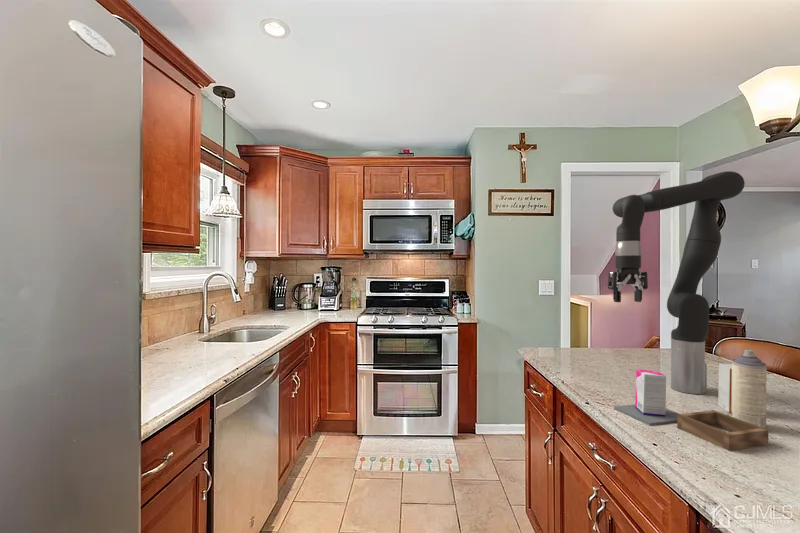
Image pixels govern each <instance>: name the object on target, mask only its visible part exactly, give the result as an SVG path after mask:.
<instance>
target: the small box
mask: <svg viewBox="0 0 800 533" xmlns="http://www.w3.org/2000/svg"><path fill="white" fill-rule="evenodd" d="M717 396H718V397H717V398H718V403H717V404H718V407H721V408H722V409H723V410H724V411H726V412H728V413H730V414H731V409H732V363H718V395H717Z"/></svg>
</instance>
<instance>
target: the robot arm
mask: <svg viewBox="0 0 800 533" xmlns="http://www.w3.org/2000/svg"><path fill="white" fill-rule="evenodd" d="M744 187H745V178H744V177H743V176H742V174H741V173H739V172H736V171H733V170H732V171H729V170H728V171H721V172H717V173H714V174H710V175H708V176H706V177H704V178H703V179H701V180H699V181H696V182H691V183H686V184H682V185H677V186H676V185H675V186H670V187H664V188H660V189H655V190H651V191H647V192H645V193H642V194H638V195H637V194H629V195H627V196H624V197H621V198H619V199H617V200H615V202H614V203H613V205H612V213H613V214H614V215H615V216H616V217H618V218H621V219H622V220H621V223H620V224H619V225H618V226H617V227H616V236H615V237H616V238H615V239H616V240H615V242H616V243H615V249H614V250H615V253H614V254H615V258H614V259H615V262H614V263H615V265H614V267H615V269H617V270H616V271H608V275H607V276H608V277H607V289H608V290H611V291H613V292H612V294H613V295H612V300H613V302H615V303H621V302H622V291H621V290H622V289H623V287H625V286H626V285H630V286H632V288H633V289H634V291H633V292H634V294H633V295H634V299H633V300H634V302H637V303H642V300H643V291H644V290H647V289H648V288H649V284H648V272H647V271H640V269H641V268H642V245H641V228H642V224H643V220H644V218H645V217H644V216H645V213H651V212H658V211H659V212H660V211H662V210H668V209H671V208H675V207H679V206H683V205H687V204H690V203H691V204H692V203H695V204H694V210H693V216H692V219H691V223H690V228H689V232H688V235H687V237H686V241H685V243H684V248H683V253H682V256H681V260H680V264H679V267H678V271H677V275H676V278H675V280H674V283H673V285H672V288H671V290H670V292H669V294H668V298H667V302H666V309H667V311H668V313H669V315H670V316H672V317H674V318H677V319H678V323H677V327H676V328H674V329H672V330H671V332H670V388H671V389H672V390H675V391H677V392H681V393H686V394H694V395H701V394H702V395H703V394H705V393H706V392H707V391H708V390H707V386H708V385H707V383H708V382H707V381H708V380H707V378H708V375H707V372H708V371H707V368H708V366H707V365H708V364H707V362H706V337H707V334H708V332H709V326H710V325H709V323H710V305H709V302H708V300H707V299H706V297H704V296H703V295H702V294H698V293H697V290H698V287H699V284H700V282H701V279H702V278H703V276H705V274H706V273H707V272H708V271H709V270H710V268H711V267H712V266H713V265H714V263H715V262H716V259H717V257H718V255H719V250H720V247H721V243H722V234H721V231H720V228H719V224H718V221H717V214H718V211H719V207H720V204H721V201H724V200H725V201H726V200H728V199H732V198H735V197H736V196H738V195H740V194H741V193H742V191H744Z"/></svg>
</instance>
